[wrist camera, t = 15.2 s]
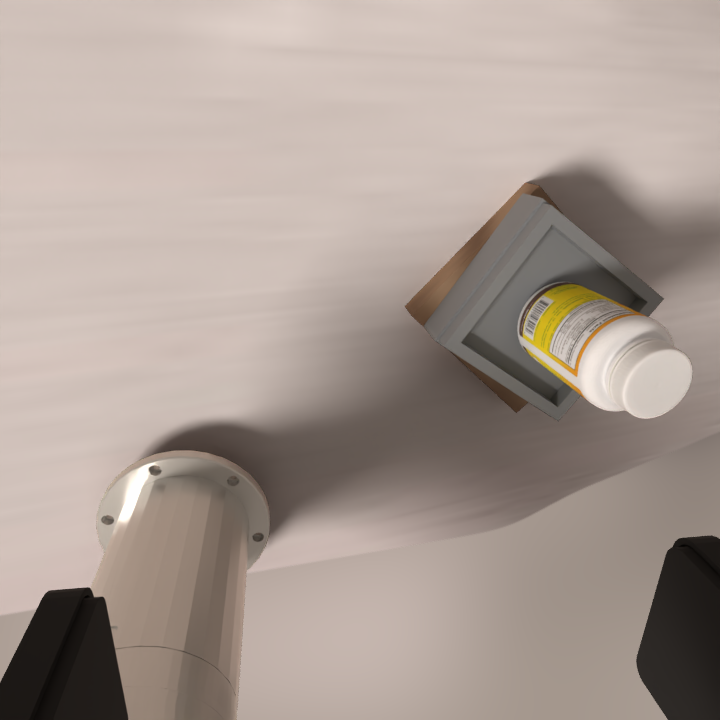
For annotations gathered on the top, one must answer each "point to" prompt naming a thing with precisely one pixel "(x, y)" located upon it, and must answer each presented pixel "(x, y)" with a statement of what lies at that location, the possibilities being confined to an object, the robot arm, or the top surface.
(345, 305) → the top surface
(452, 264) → the tower base
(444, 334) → the tower top
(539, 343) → the supplement bottle
